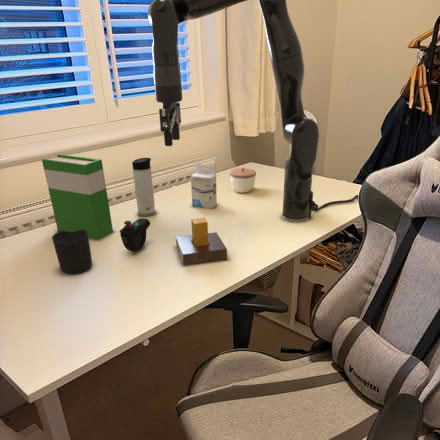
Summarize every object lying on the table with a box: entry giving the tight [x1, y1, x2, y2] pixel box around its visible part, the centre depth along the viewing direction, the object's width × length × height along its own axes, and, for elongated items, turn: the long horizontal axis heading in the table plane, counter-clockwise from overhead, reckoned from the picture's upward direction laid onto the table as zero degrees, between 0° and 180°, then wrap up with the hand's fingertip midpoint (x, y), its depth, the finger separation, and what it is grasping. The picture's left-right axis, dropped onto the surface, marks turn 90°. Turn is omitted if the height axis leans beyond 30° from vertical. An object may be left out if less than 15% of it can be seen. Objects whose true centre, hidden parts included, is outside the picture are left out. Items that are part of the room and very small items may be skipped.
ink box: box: [190, 163, 218, 209], centre depth 165 cm, size 9×5×15 cm, turn 71°
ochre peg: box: [190, 216, 209, 247], centre depth 130 cm, size 4×4×10 cm
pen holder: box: [51, 230, 93, 275], centre depth 124 cm, size 9×9×10 cm
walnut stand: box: [175, 231, 228, 266], centre depth 132 cm, size 13×13×4 cm
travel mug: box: [131, 157, 156, 217], centre depth 158 cm, size 6×7×20 cm
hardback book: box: [41, 154, 114, 241], centre depth 143 cm, size 18×7×24 cm, turn 63°
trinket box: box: [229, 167, 257, 194], centre depth 181 cm, size 11×11×9 cm
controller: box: [119, 217, 152, 252], centre depth 134 cm, size 4×12×10 cm, turn 157°
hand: (172, 142), depth 133 cm, fingers open, 8 cm apart
